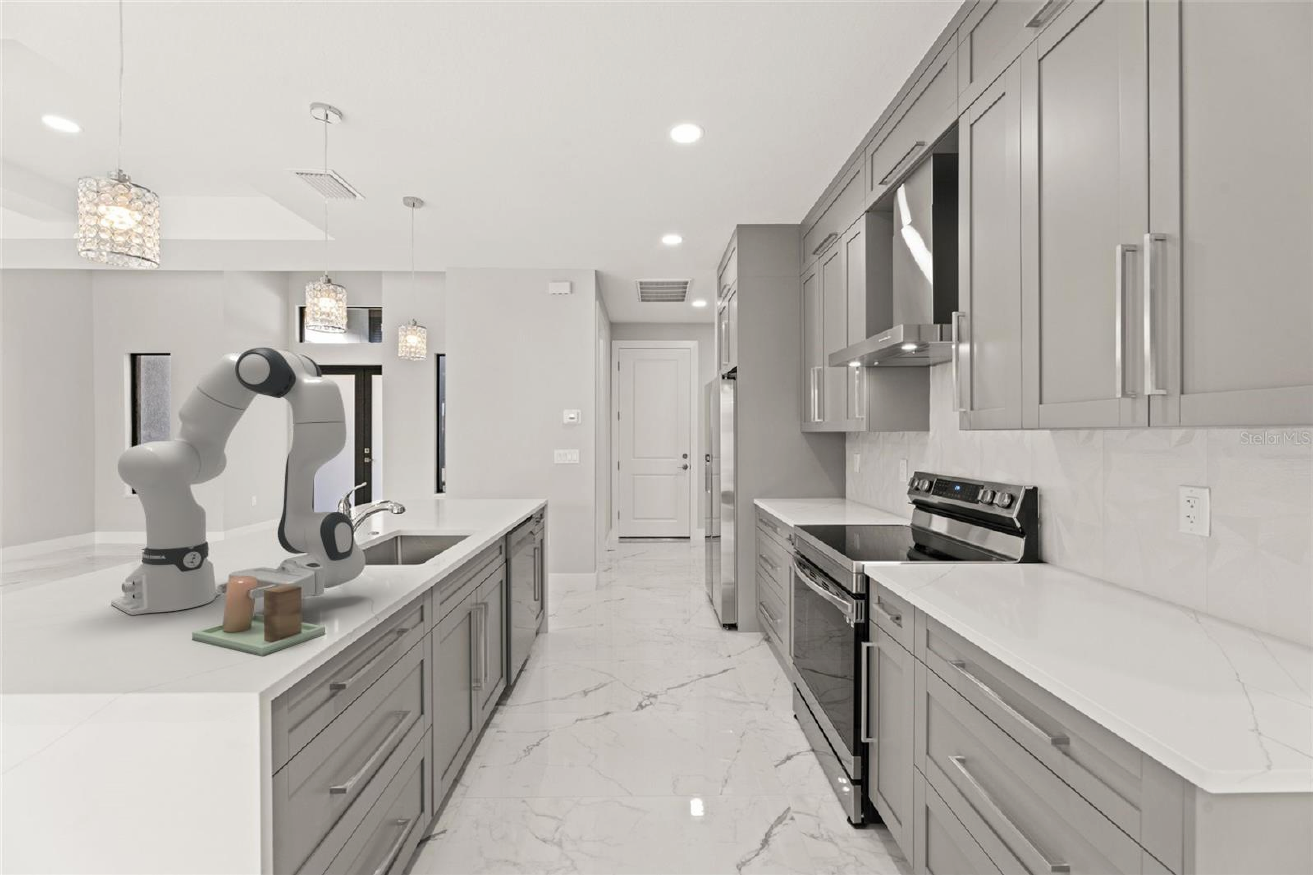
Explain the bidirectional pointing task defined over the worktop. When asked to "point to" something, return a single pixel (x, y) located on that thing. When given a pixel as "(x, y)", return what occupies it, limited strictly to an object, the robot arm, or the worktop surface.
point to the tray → (254, 637)
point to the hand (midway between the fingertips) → (234, 591)
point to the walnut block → (282, 612)
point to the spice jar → (239, 604)
